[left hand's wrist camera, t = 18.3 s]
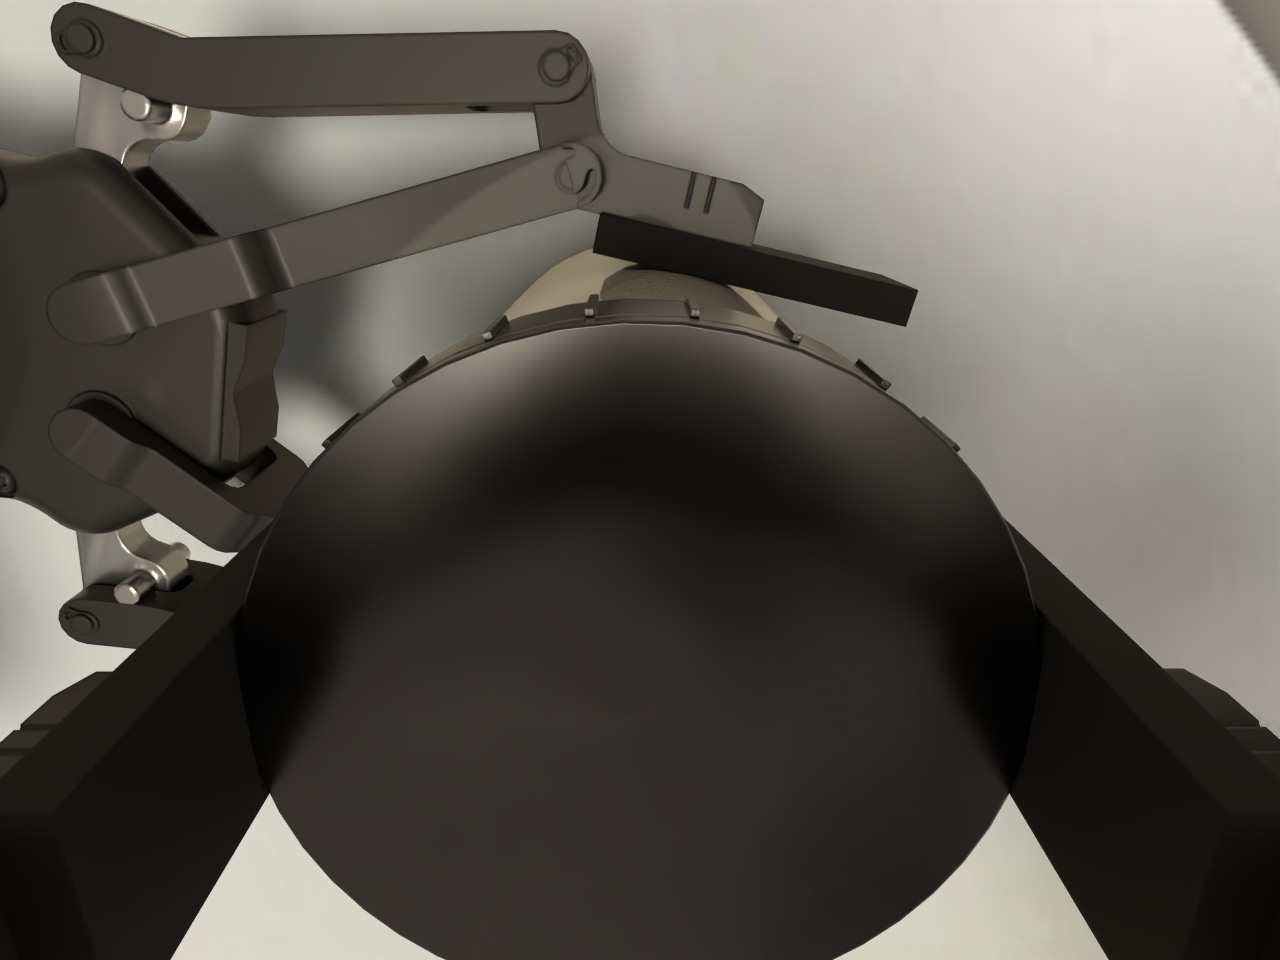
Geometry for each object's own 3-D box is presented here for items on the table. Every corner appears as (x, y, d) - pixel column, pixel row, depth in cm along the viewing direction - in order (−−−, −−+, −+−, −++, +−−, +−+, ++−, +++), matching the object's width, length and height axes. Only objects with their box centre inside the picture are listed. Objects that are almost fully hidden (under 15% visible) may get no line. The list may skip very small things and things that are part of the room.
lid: (1121, 686, 12) (1194, 763, 11) (601, 999, 14) (596, 1102, 13) (699, 109, 9) (710, 96, 8) (139, 606, 12) (61, 674, 10)
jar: (428, 354, 25) (140, 598, 11) (685, 174, 23) (760, 173, 9) (600, 581, 28) (558, 1024, 13) (843, 435, 26) (1099, 763, 12)
